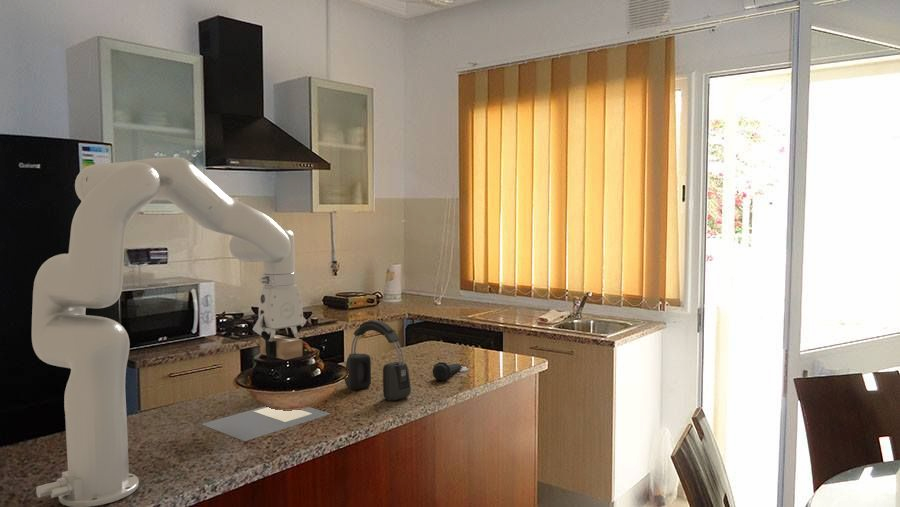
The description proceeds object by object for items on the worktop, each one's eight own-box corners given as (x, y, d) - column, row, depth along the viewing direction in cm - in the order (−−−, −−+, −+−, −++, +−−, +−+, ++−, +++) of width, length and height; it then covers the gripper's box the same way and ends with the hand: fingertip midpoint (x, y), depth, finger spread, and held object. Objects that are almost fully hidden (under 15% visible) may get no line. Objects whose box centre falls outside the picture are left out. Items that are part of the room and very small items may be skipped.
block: (260, 354, 159) (260, 337, 159) (277, 350, 163) (277, 334, 163) (285, 359, 153) (284, 342, 152) (302, 356, 157) (302, 339, 156)
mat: (244, 443, 139) (244, 440, 139) (200, 426, 151) (200, 423, 151) (331, 416, 158) (331, 413, 158) (286, 402, 169) (286, 400, 169)
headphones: (342, 388, 183) (341, 318, 182) (359, 383, 188) (358, 315, 186) (396, 403, 168) (395, 327, 167) (413, 398, 173) (412, 324, 171)
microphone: (456, 376, 207) (432, 384, 188) (451, 359, 208) (427, 365, 189) (471, 372, 205) (449, 380, 187) (467, 355, 206) (444, 361, 187)
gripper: (257, 285, 148) (260, 363, 149) (317, 278, 161) (318, 351, 162) (239, 282, 152) (241, 359, 154) (298, 276, 166) (300, 347, 167)
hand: (281, 354), depth 158 cm, fingers closed on block, 5 cm apart
